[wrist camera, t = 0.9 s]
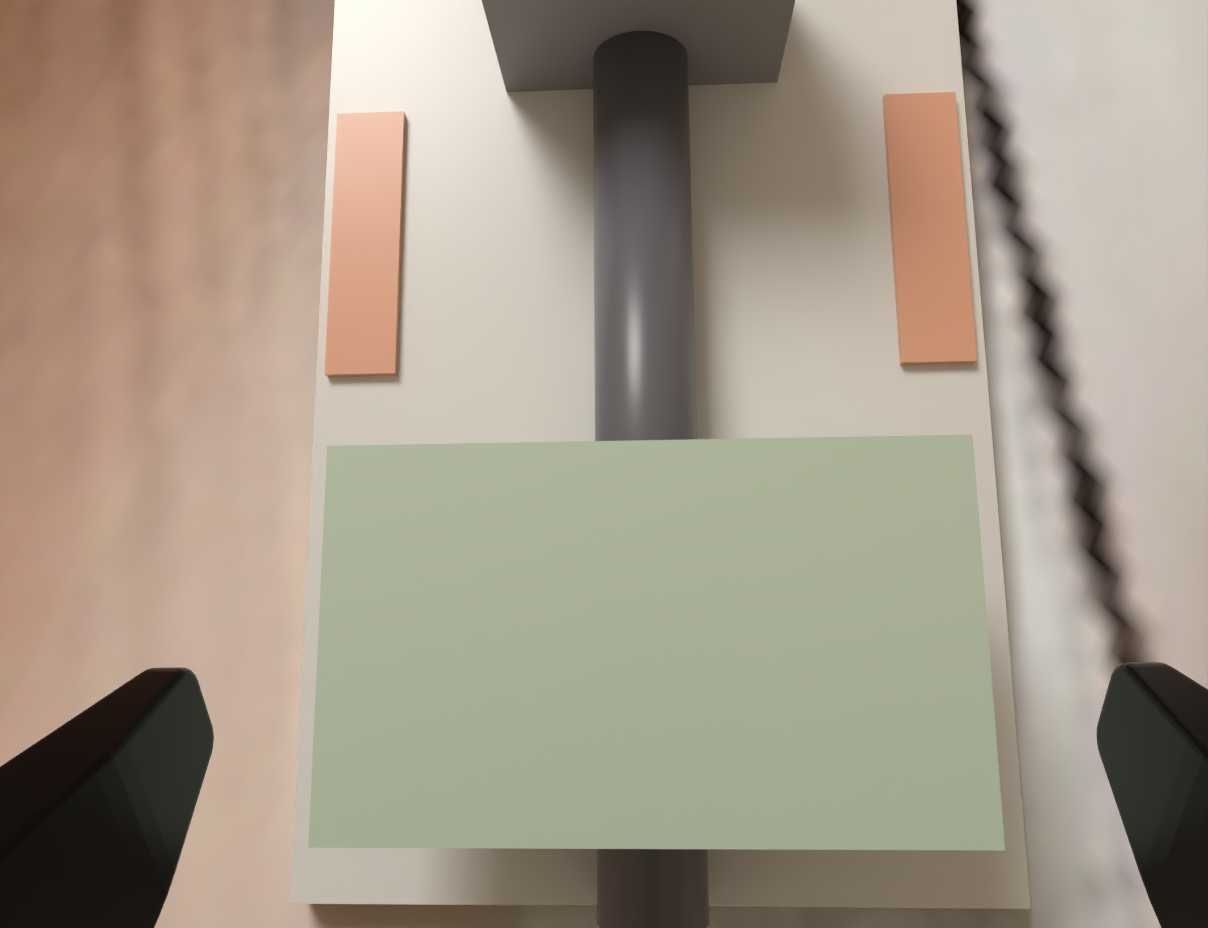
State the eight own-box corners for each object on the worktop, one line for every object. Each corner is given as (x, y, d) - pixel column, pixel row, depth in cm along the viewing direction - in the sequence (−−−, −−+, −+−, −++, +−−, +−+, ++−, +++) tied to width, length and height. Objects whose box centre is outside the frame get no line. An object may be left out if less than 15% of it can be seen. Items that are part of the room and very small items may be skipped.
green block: (918, 798, 18) (1005, 850, 13) (391, 797, 18) (307, 847, 14) (898, 482, 19) (972, 434, 15) (401, 489, 19) (326, 445, 15)
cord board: (1014, 897, 18) (1175, 1011, 13) (305, 893, 19) (157, 999, 14) (942, -23, 22) (1041, -252, 16) (346, 2, 23) (244, -210, 17)
